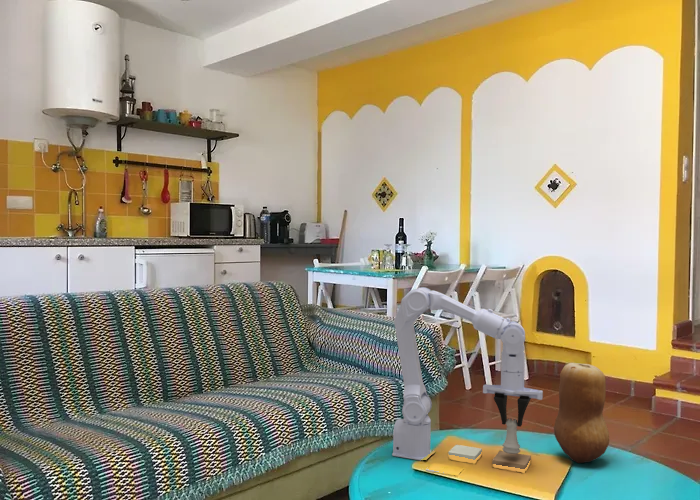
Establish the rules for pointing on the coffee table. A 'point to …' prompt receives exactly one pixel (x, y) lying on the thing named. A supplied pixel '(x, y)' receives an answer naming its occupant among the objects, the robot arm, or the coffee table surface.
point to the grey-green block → (465, 451)
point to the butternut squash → (582, 412)
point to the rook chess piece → (511, 438)
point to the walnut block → (511, 460)
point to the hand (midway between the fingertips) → (511, 424)
